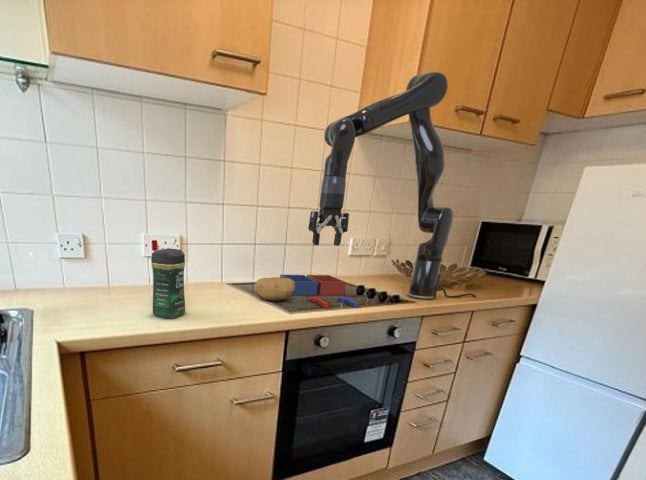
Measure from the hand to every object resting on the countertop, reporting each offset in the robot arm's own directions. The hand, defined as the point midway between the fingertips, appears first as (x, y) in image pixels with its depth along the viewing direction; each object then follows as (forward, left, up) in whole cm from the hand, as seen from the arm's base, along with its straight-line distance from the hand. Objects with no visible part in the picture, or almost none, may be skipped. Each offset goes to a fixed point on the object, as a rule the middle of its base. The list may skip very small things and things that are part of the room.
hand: (326, 245), depth 135 cm
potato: (+16, -4, -20) cm, 25 cm away
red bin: (-10, -20, -19) cm, 30 cm away
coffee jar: (+53, +13, -20) cm, 58 cm away
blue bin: (+1, -20, -19) cm, 28 cm away
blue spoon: (-10, +1, -19) cm, 22 cm away
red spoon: (+1, +1, -19) cm, 19 cm away
